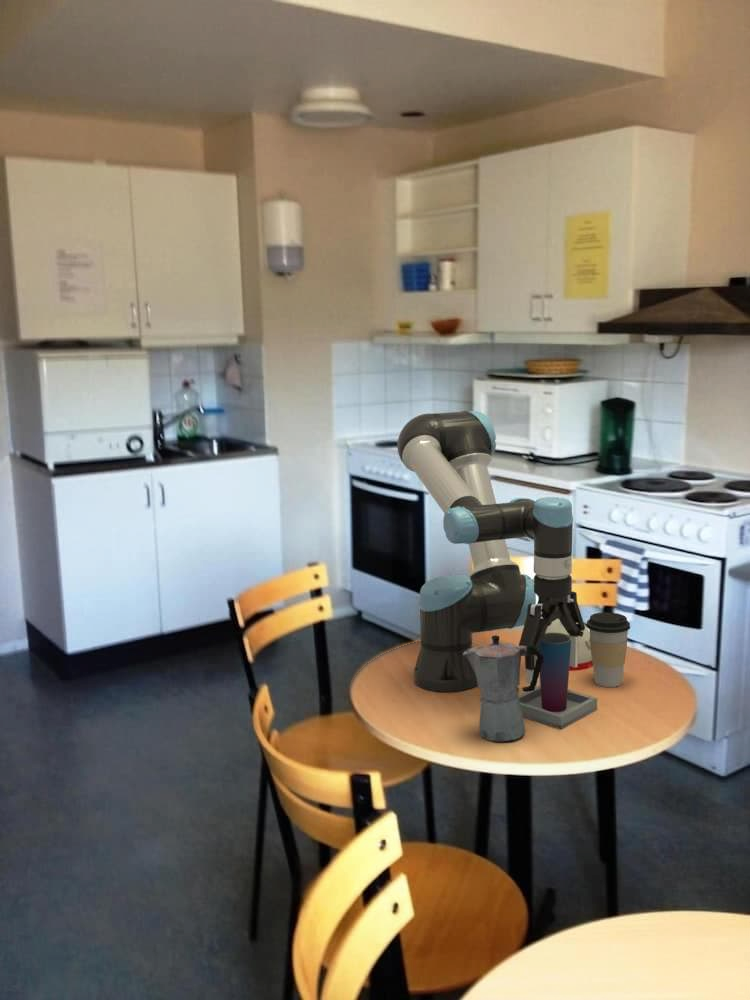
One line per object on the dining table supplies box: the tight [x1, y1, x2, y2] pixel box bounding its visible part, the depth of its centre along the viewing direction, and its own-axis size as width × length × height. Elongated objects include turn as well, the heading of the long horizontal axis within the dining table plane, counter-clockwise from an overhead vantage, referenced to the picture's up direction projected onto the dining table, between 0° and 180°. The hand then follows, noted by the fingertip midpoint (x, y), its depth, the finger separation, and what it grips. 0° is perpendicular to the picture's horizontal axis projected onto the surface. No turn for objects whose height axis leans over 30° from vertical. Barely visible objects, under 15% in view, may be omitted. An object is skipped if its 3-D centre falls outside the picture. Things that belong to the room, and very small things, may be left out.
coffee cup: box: [585, 611, 631, 688], centre depth 207 cm, size 9×9×15 cm
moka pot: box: [463, 634, 544, 743], centre depth 182 cm, size 10×15×20 cm, turn 88°
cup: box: [538, 633, 571, 712], centre depth 192 cm, size 7×7×15 cm
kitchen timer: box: [545, 619, 593, 672], centre depth 221 cm, size 14×14×15 cm
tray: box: [518, 685, 598, 730], centre depth 193 cm, size 13×13×2 cm
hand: (552, 674), depth 192 cm, fingers open, 13 cm apart
